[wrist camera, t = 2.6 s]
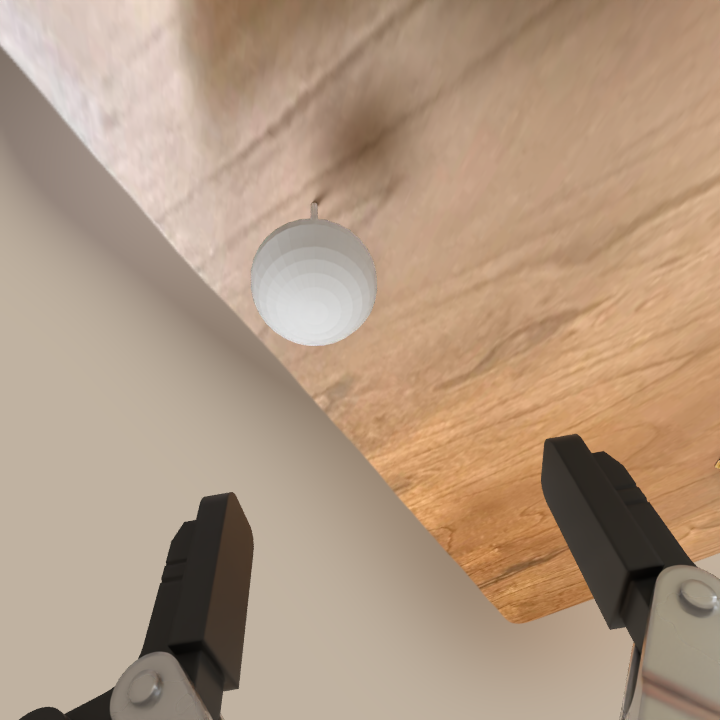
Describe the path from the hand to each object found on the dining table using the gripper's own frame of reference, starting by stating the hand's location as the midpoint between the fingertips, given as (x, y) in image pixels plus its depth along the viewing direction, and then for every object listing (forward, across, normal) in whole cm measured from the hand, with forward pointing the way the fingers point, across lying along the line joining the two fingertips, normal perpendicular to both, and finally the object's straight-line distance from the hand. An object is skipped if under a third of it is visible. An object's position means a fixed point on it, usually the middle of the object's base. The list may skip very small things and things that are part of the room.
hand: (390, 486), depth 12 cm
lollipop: (+25, +2, 0) cm, 25 cm away
